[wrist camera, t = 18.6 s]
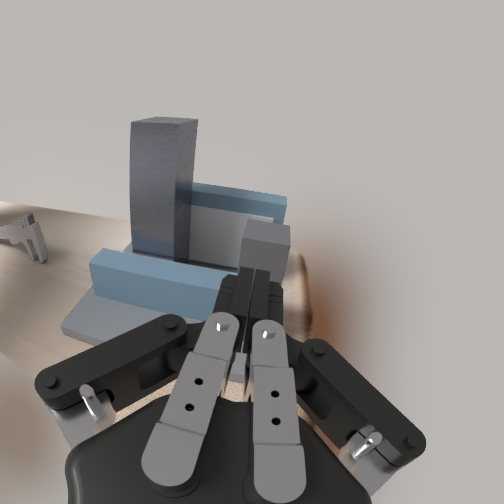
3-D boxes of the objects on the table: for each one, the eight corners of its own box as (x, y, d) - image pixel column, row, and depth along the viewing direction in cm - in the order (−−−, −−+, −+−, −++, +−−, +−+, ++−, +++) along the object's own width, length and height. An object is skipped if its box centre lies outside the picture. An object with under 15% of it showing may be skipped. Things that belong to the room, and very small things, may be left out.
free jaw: (87, 304, 23) (70, 210, 18) (109, 276, 27) (100, 190, 22) (266, 344, 22) (290, 245, 18) (269, 308, 26) (289, 217, 22)
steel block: (135, 283, 27) (131, 121, 19) (154, 257, 31) (156, 116, 24) (174, 291, 27) (179, 123, 19) (188, 263, 31) (198, 119, 24)
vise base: (63, 333, 20) (35, 241, 16) (134, 245, 34) (132, 175, 30) (260, 385, 20) (286, 292, 16) (271, 270, 34) (286, 196, 30)
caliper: (49, 262, 29) (39, 214, 26) (43, 266, 28) (33, 217, 25) (-23, 234, 31) (-31, 198, 27) (-28, 237, 30) (-36, 200, 26)
